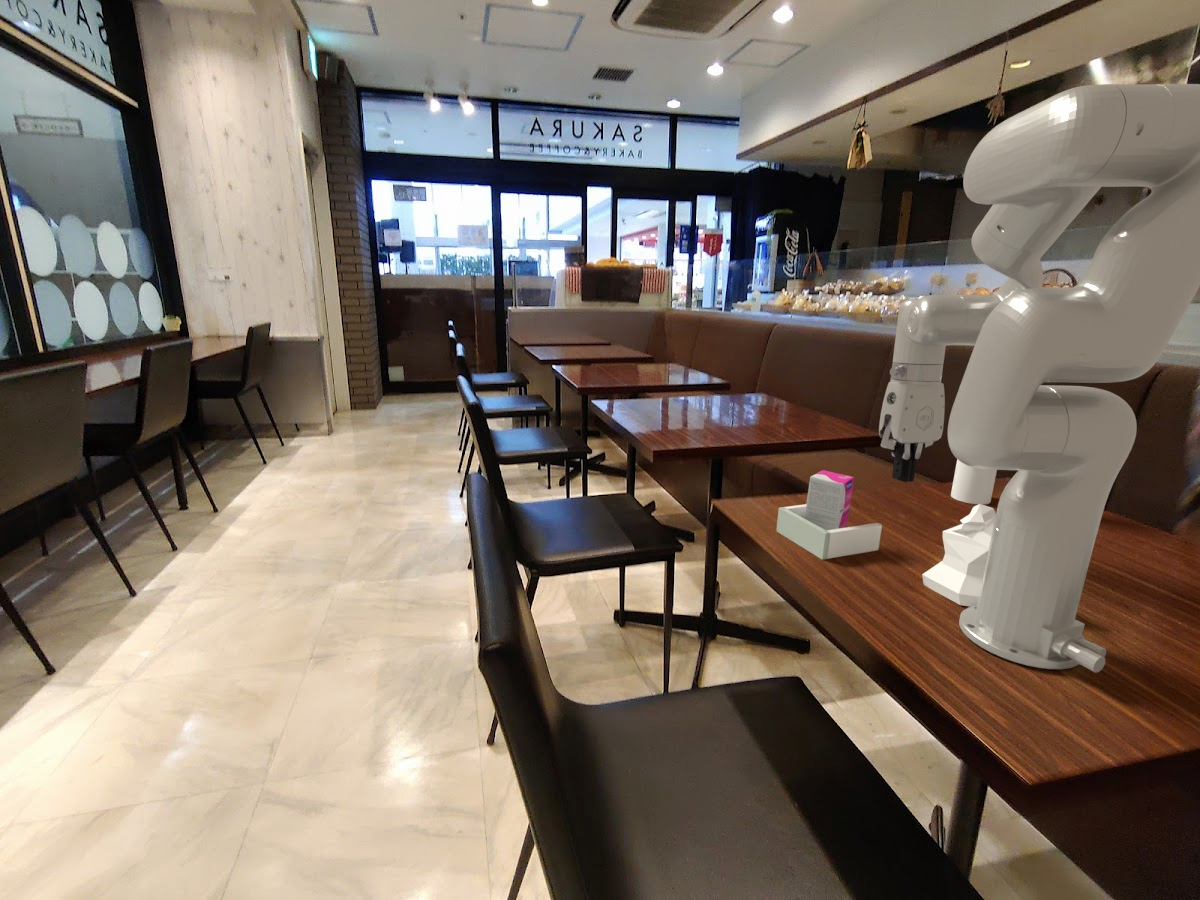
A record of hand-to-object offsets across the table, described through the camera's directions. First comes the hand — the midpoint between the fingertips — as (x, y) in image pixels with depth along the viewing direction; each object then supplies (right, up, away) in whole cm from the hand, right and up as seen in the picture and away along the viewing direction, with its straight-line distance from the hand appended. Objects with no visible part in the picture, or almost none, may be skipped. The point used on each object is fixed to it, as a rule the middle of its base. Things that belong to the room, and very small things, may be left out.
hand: (902, 479), depth 101 cm
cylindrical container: (+25, -5, +21) cm, 33 cm away
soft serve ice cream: (+1, -16, -18) cm, 24 cm away
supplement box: (-14, -10, 0) cm, 17 cm away
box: (-14, -10, -1) cm, 17 cm away
